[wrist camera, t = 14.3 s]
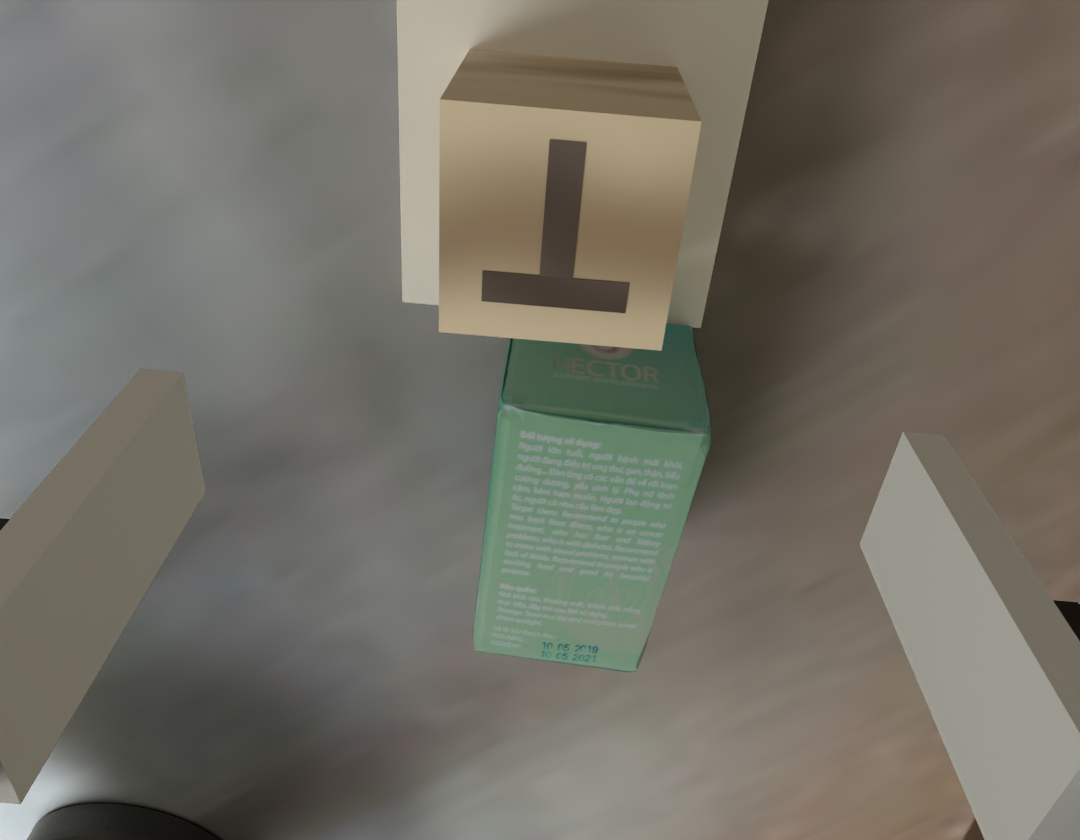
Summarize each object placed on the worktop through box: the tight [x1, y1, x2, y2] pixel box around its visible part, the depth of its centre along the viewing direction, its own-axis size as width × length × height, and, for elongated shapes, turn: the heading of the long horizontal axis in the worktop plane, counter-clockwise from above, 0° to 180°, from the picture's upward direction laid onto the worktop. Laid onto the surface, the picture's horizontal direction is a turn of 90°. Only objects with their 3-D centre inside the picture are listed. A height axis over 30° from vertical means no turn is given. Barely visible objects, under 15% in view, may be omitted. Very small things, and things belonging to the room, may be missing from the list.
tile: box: [397, 0, 769, 328], centre depth 30 cm, size 12×12×1 cm
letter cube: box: [439, 49, 702, 351], centre depth 27 cm, size 7×7×7 cm
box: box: [473, 323, 711, 672], centre depth 34 cm, size 7×14×8 cm, turn 173°
